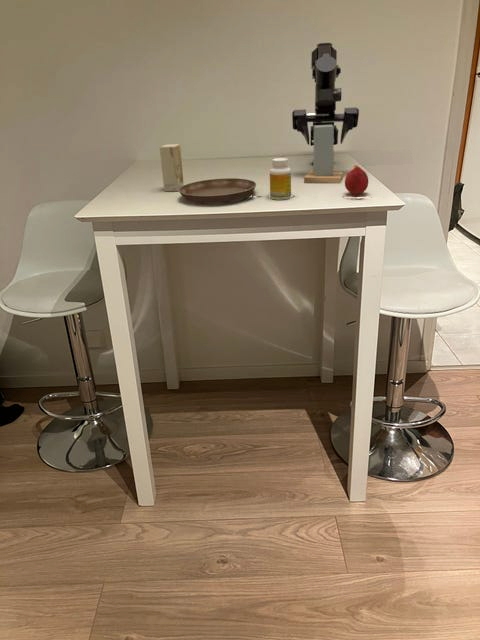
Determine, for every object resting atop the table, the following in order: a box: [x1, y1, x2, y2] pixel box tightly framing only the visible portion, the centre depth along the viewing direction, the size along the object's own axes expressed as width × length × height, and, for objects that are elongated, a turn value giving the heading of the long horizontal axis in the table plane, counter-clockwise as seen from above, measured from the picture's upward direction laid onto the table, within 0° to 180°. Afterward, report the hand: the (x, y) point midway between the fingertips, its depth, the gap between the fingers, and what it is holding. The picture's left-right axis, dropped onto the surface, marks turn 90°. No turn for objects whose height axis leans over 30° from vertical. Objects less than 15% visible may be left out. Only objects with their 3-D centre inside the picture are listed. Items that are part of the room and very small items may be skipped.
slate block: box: [313, 125, 335, 176], centre depth 147 cm, size 5×5×13 cm
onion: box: [344, 164, 369, 198], centre depth 131 cm, size 6×6×8 cm
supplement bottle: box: [269, 157, 292, 201], centre depth 133 cm, size 5×5×10 cm
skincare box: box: [159, 143, 185, 192], centre depth 149 cm, size 6×4×12 cm
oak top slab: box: [303, 170, 345, 184], centre depth 150 cm, size 10×10×2 cm
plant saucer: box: [178, 177, 257, 206], centre depth 139 cm, size 21×21×3 cm
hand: (324, 143), depth 148 cm, fingers open, 9 cm apart
